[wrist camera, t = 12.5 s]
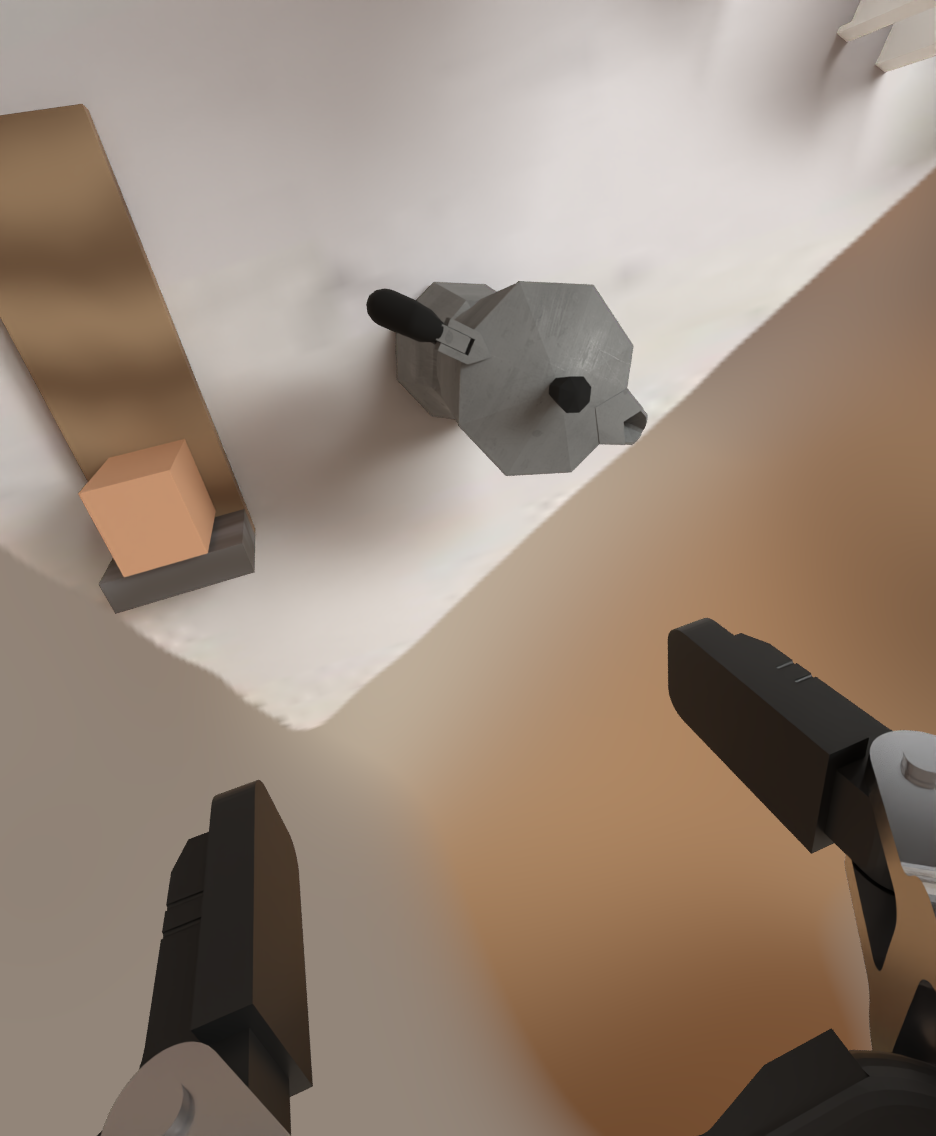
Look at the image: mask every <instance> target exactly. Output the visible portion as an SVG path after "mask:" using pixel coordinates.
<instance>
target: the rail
mask: <svg viewBox="0 0 936 1136" xmlns="http://www.w3.org/2000/svg"><path fill="white" fill-rule="evenodd" d="M0 318H1V320H2V321H3V323H4V325H5V327H6V329H7V331H8V333H9V335H10V336H11V338H12V340H13V342H14V344H15V346H16V348H17V350H18V351H19V353H20V355H21V357H22V359H23V361H24V363H25V365H26V366H27V368H28V370H29V372H30V374H31V376H32V378H33V380H34V382H35V383H36V385H37V387H38V389H39V391H40V393H41V395H42V397H43V398H44V400H45V402H46V404H47V406H48V408H49V410H50V412H51V413H52V415H53V417H54V419H55V421H56V423H57V425H58V427H59V428H60V430H61V432H62V434H63V436H64V438H65V440H66V442H67V443H68V445H69V447H70V449H71V451H72V453H73V455H74V457H75V459H76V460H77V462H78V464H79V466H80V468H81V470H82V472H83V474H84V475H85V477H86V479H87V481H88V482H89V480H90V479H91V478H92V477H93V476H94V475H95V473H96V472H97V471H98V470H99V469H100V468H101V466H102V465H103V464H104V463H105V462H106V461H107V459H108V458H110V457H114V456H118V455H122V454H126V453H130V452H134V451H138V450H142V449H146V448H150V447H154V446H158V445H162V444H166V443H170V442H174V441H178V440H182V439H185V440H186V443H187V445H188V447H189V450H190V452H191V454H192V457H193V459H194V461H195V464H196V466H197V468H198V471H199V473H200V475H201V478H202V480H203V482H204V485H205V487H206V489H207V492H208V494H209V496H210V499H211V501H212V503H213V506H214V508H215V510H216V513H215V518H214V523H213V529H212V534H211V539H210V544H209V549H208V553H207V554H204V555H200V556H197V557H193V558H190V559H186V560H183V561H179V562H176V563H172V564H169V565H165V566H162V567H158V568H155V569H152V570H148V571H145V572H141V573H138V574H134V575H131V576H127V577H124V576H123V575H122V573H121V571H120V569H119V567H118V566H117V564H116V562H115V560H114V558H113V559H112V561H111V562H110V564H109V566H108V568H107V570H106V572H105V574H104V576H103V577H102V579H101V581H100V583H99V586H100V588H101V589H102V591H103V593H104V594H105V596H106V598H107V600H108V601H109V603H110V605H111V607H112V608H113V610H114V612H115V614H116V613H119V612H123V611H126V610H129V609H133V608H136V607H139V606H143V605H146V604H149V603H153V602H156V601H159V600H163V599H166V598H169V597H173V596H176V595H180V594H183V593H186V592H190V591H193V590H196V589H200V588H203V587H206V586H210V585H213V584H216V583H220V582H223V581H226V580H230V579H233V578H236V577H240V576H243V575H246V574H250V573H253V572H254V566H255V527H254V524H253V522H252V519H251V517H250V514H249V512H248V509H247V507H246V504H245V502H244V499H243V497H242V494H241V492H240V489H239V487H238V484H237V482H236V479H235V477H234V474H233V472H232V469H231V467H230V464H229V462H228V459H227V457H226V454H225V452H224V449H223V447H222V444H221V441H220V439H219V436H218V434H217V431H216V429H215V426H214V424H213V421H212V419H211V416H210V414H209V411H208V409H207V406H206V404H205V401H204V399H203V396H202V394H201V391H200V389H199V386H198V384H197V381H196V379H195V376H194V374H193V371H192V369H191V366H190V364H189V361H188V359H187V356H186V354H185V351H184V349H183V346H182V344H181V341H180V339H179V336H178V334H177V331H176V329H175V326H174V324H173V321H172V319H171V316H170V313H169V311H168V308H167V306H166V303H165V301H164V298H163V296H162V293H161V291H160V288H159V286H158V283H157V281H156V278H155V276H154V273H153V271H152V268H151V266H150V263H149V261H148V258H147V256H146V253H145V251H144V248H143V246H142V243H141V241H140V238H139V236H138V233H137V231H136V228H135V226H134V223H133V221H132V218H131V216H130V213H129V211H128V208H127V206H126V203H125V201H124V198H123V196H122V193H121V191H120V188H119V186H118V183H117V180H116V178H115V175H114V173H113V170H112V168H111V165H110V163H109V160H108V158H107V155H106V153H105V150H104V148H103V145H102V143H101V140H100V138H99V135H98V133H97V130H96V128H95V125H94V123H93V120H92V118H91V115H90V113H89V110H88V109H87V108H86V107H85V106H84V105H83V104H78V105H71V106H64V107H57V108H50V109H43V110H35V111H28V112H21V113H14V114H7V115H0Z"/></svg>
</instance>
